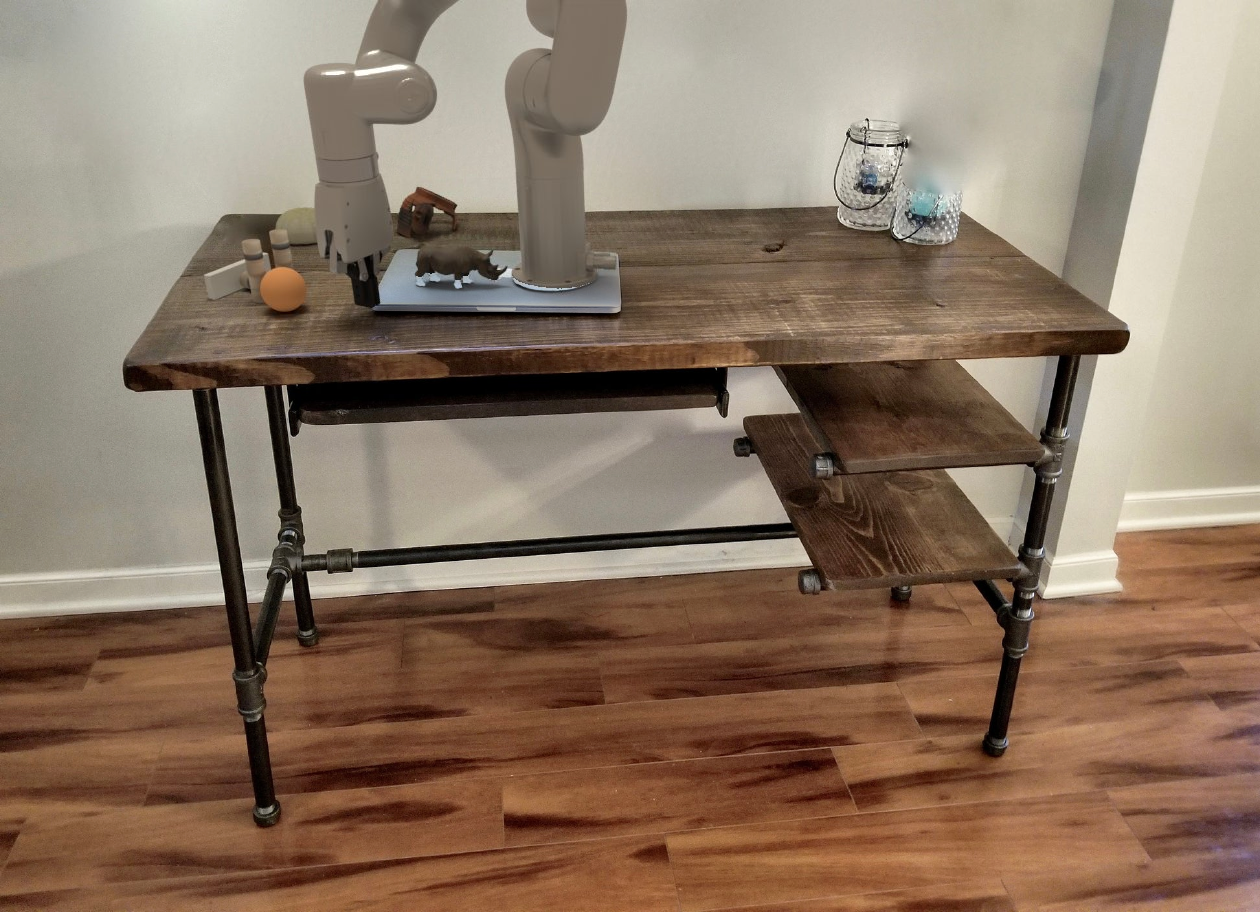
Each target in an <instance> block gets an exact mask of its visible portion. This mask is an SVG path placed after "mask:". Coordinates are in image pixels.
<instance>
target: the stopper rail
mask: <svg viewBox="0 0 1260 912" xmlns="http://www.w3.org/2000/svg"><path fill="white" fill-rule="evenodd" d="M262 253H263V260H264V265H265V270H266V273H267V272H269V271H270V270H272V267H271V262H270V257H269V253H267V252H263V251H262ZM245 271H247V268H246V263H245V259H244V258H243V259H241V260H239V261H236V262H234V263H231V264H229V265H226V266H223V267H221V268H219V269H216V270H212V271H211V272H208V273H205V274H203V278H204V279H203V280H204V282H205V283H204V284H205V288H206V292H207V296H208V299H210V300H213V301H216V300H218V299H220V298H224V297H225V296H228V295H230V294H232V293H235V292H238V291H240V290H242V289H245V288H244V287H242V286H241V284H240V276H241V274H242V273H243V272H245Z"/></svg>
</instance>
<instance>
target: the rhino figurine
mask: <svg viewBox="0 0 1260 912" xmlns="http://www.w3.org/2000/svg"><path fill="white" fill-rule="evenodd" d="M493 254H494V249H491V250H490V251H488V252H487V253H483V252H481V251H479V250H477V249H475V248H474V247H471V246H467V245H462V246H457V247H453V248H451V247H445V246H441V245H435V244H434V245H431V244H429V245H428V244H427V245H423V246H422V247H420V248H419V249H418V251H417V257H416V262H415V266H416V268H417V270H416V271H415V273H414V275H415V277H416V276H418V277H422V276H423V277H424V276H425V275H426V274H427V273H430V274H432V273H436V274H437V273H438V274H440V275H442V276H451V275H453V279H454V281H455V280H461V281H462V280H463V276H468V275H469V276H470V273H471V272H472V271H474V272H475V271H477V273H478V274H479V276H481V277H483V278H485V279H487V280H489V279H491V280H490V281H492V280H497V279H498V280H499V277H500V276H502V275H503V274H505V273H506V271H507V270H508V266H507V265H506V266H504V268H502V269H498V267H499V264H495V265H494V264H492V263H491V258H490V257H492V256H493Z"/></svg>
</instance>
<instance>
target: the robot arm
mask: <svg viewBox="0 0 1260 912" xmlns="http://www.w3.org/2000/svg"><path fill="white" fill-rule="evenodd" d="M458 1H459V0H377V1H376V4H375V5H374V8H373V9H372V12H371V13H370V15H369V19H368V21H367V25H366V28H365V30H364V33H363V37H362V40H361V43H360V46H359V49H358V53H357V56H356V60H355V63H354V64H353V63H350V62H349V63H347V62H331V63H322V64H316V65H313V66H310V67H308V68H307V69H306V71H305V72H304V73H303V87H304V94H305V99H306V107H307V113H308V118H309V125H310V132H311V138H312V144H313V152H314V158H315V163H316V169H317V170H316V171H317V174H318V183H316V184H315V186H314V201H313V204H314V205H313V206H314V208H315V225H316V235H317V243H316V244H317V248H318V249H317V250H318V253H319V256H320V258H321V259H323V260H329V271H330V273H333V274H337V275H343V274H345V275H346V277H347V278H348V279H350V280H351V281H350V282H351V287H352V288H351V289H352V295H353V302H354V304H355V305H356V306H359V307H363V308H368V309H373V308H375V307H376V306H379V305H381V295H380V290H379V282H378V276H379V275H380V272H381V262H382V260H383V258H384V257H385V256H386V255H388V254H389V253H390V252H391V250H392V246H391V244H392V243H393V242H394V225H393V224H394V223H393V218H392V213H391V207H390V206H391V205H390V202H389V198H388V197H389V196H388V193H387V190H386V186H385V183H384V179H383V176H382V174H381V173H380V169H379V167H380V166H379V162H378V160H379V157H380V156H379V153H378V152H377V146H376V138H375V131H374V130H375V129H374V125H395V126H396V125H401V126H403V125H404V126H405V125H413V124H416V123H420V122H421V121H423V120H425V119H426V118H427V117H428V116H430V115H431V113H432V112H433V111H434V109H435V107H436V104H437V101H438V89H437V85H436V82H435V81H434V79H433V77H432V76H431V74H430V73H429V72H428V71H427V70H426V69H425V68H423V66H421V65H418V64H417V63H416V62H417V59H418V55H419V52H420V49H421V47H422V44H423V42H424V41H425V37H427V34H428V32H429V30H430V28H432V25H434V23H435V22H436V20H437V19H438V18H439V17H440V16H441V15H442V14H443V13H444V12H446V11H447V10H448V9H449V8H451V7H453V6H454V5H455V4H456V3H457V2H458ZM627 7H628V6H627V0H526V2H525V8H526V9H525V10H526V15H527V18H528V21H529V22H530V24H531V26H532V28H534V29H535V30H536V31H537V32H538V33H540V34H542V35H543V36H546V37H548V38H551V39H553V40H552V47H551V48H547V47H546V48H543V47H535V48H530V49H528V50H525V51H523V52H522V53H520V54H518V56H517V57H515V58H514V59H513V61H512V62H511V63H510V66H509V67H508V69H507V72H506V75H505V79H504V80H505V81H504V98H505V104H506V109H507V113H508V114H507V115H508V119H509V124H510V129H511V136H512V141H513V142H512V143H513V150H514V152H513V153H514V163H515V164H514V168H515V184H516V196H517V197H516V198H517V201H516V202H517V215H518V217H517V218H518V229H519V245H520V247H519V248H520V260H521V262H519V263H518V264H517V265H515V266H514V267H513V268H512V270H511V277H512V276H513V278H515V279H516V280H518V281H519V282H522V283H525V284H528V285H534V286H538V287H546V288H557V289H559V288H561V289H562V288H572V287H580V286H582V285H586V284H588V283H590V284H592V283H593V282H595V280H597V278H598V274H599V273H598V269H601V270H602V269H603V270H609V271H610V270H612V271H613V270H614V271H615V270H617V256H616V255H614V256H613V255H611V252H595V250H591V242H587V237H586V236H587V235H586V231H587V230H586V207H585V204H586V203H585V178H584V177H585V176H584V175H585V174H584V172H585V167H584V166H585V165H584V151H583V144H582V138H581V137H582V136H585V135H588V134H590V133H592V132H593V131H595V130H596V129H597V128H598V127H599V126H600V125H601V124H602V123H603V122H604V120H605V118H606V116H607V114H608V112H609V109H610V107H611V105H612V100H613V96H614V93H615V88H616V82H617V77H618V72H619V68H620V62H621V56H622V51H623V45H624V41H625V36H626V30H627V29H626V28H627V21H628V8H627ZM591 282H592V283H591ZM588 285H589V284H588ZM586 286H587V285H586ZM580 288H581V287H580Z"/></svg>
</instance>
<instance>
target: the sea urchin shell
mask: <svg viewBox="0 0 1260 912" xmlns="http://www.w3.org/2000/svg"><path fill="white" fill-rule="evenodd" d="M275 223H276V224H275V229H285V230H287V234H288V239H289V243H290V245H311V244H318V243H317V235H316V225H315V207H314V208H313V207H306V206H305V207H296V208H292V209H288V210H286V211H284V212H283V213H281V215H280V216H279V217H278V219H277V221H276V222H275ZM275 229H274V230H275Z"/></svg>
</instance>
